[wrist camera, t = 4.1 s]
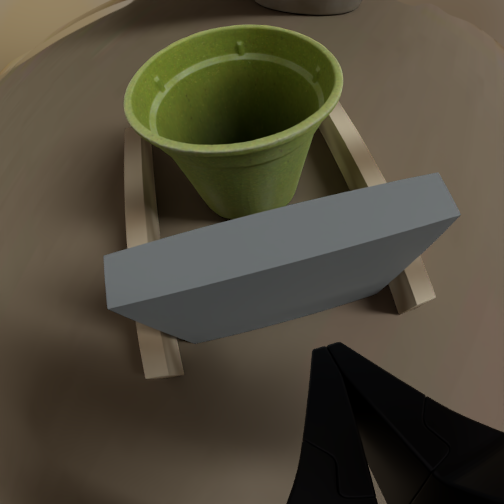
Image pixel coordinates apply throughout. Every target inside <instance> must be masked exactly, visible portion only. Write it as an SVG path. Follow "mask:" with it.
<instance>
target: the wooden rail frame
mask: <svg viewBox="0 0 504 504" xmlns="http://www.w3.org/2000/svg"><path fill="white" fill-rule="evenodd" d="M318 128H319V130H320V132H321V133H322V135H323V137H324V139H325V141H326V143H327V145H328V147H329V149H330V151H331V153H332V155H333V157H334V159H335V161H336V163H337V165H338V167H339V169H340V171H341V173H342V175H343V177H344V179H345V181H346V183H347V185H348V188H349V190H350V191H352V190H357V189H361V188H366V187H370V186H375V185H380V184H384V183H386V181H385V179H384V177H383V175H382V173H381V171H380V170H379V168H378V166H377V164H376V162H375V160H374V159H373V157H372V155H371V153H370V152H369V150H368V148H367V146H366V145H365V143H364V141H363V140H362V138H361V136H360V135H359V133H358V131H357V130H356V128H355V126H354V125H353V123H352V121H351V120H350V118H349V117H348V115H347V114H346V112H345V110H344V109H343V107H342V106H341V104H340V103H339V101H338V103H337V105H336V106H335V108H334V109H333V110H332V112H331V113H330V114H329V115H328V116H327V117H326V119H325V120H323V121H322V122H321V124H320V126H319V127H318ZM124 194H125V220H126V237H127V249H128V248H131V247H135V246H138V245H142V244H145V243H149V242H152V241H156V240H159V239H161V237H160V229H159V221H158V212H157V202H156V192H155V181H154V169H153V155H152V145H151V144H150V143H149V142H147V141H146V140H144V139H143V138H142V137H140V136H139V135H138V134H137V133H136V132H135V131H134V129H133V128H132V127H129V128H126V129H125V139H124ZM388 285H389V287H390V290H391V293H392V296H393V299H394V302H395V305H396V308H397V311H398V314H399V315H400V314H403V313H405V312H408V311H410V310H413V309H415V308H417V307H419V306H421V305H423V304H425V303H427V302H429V301H430V300H432V299H434V298H436V296H435V293H434V290H433V287H432V285H431V282H430V279H429V277H428V274H427V271H426V269H425V266H424V264H423V261H422V259H421V256H419V257H418V258H416V259H415V260H414V261H413V262H412V263H411V264H410V265H409V266H408V267H407V268H406V269H404V270H403V271H402V272H401V273H400V274H399V275H398V276H397V277H395V278H394V279H393V280H392V281H391V282H390V283H389V284H388ZM136 328H137V335H138V341H139V347H140V352H141V358H142V363H143V369H144V374H145V379H164V378H170V377H176V376H182V375H184V371H183V366H182V361H181V357H180V352H179V347H178V342H177V337H175V336H172V335H170V334H167V333H164V332H162V331H159V330H157V329H154V328H151V327H149V326H147V325H144V324H142V323H139V322H137V321H136Z"/></svg>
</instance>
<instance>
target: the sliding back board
mask: <svg viewBox="0 0 504 504" xmlns="http://www.w3.org/2000/svg"><path fill="white" fill-rule="evenodd" d="M460 215H461V214H460V212H459V210H458V208H457V206H456V204H455V202H454V200H453V198H452V196H451V195H450V193H449V191H448V189H447V187H446V185H445V184H444V182H443V180H442V178H441V176H440V175H439V173H433V174H428V175H423V176H418V177H413V178H408V179H403V180H398V181H394V182H389V183H384V184H380V185H375V186H370V187H366V188H361V189H357V190H352V191H348V192H343V193H339V194H335V195H330V196H326V197H322V198H317V199H313V200H309V201H305V202H301V203H296V204H292V205H288V206H284V207H280V208H276V209H272V210H268V211H264V212H260V213H256V214H252V215H248V216H244V217H240V218H237V219H233V220H229V221H225V222H221V223H217V224H214V225H210V226H206V227H203V228H199V229H195V230H192V231H188V232H184V233H181V234H177V235H173V236H170V237H166V238H163V239H159V240H156V241H152V242H149V243H145V244H142V245H138V246H135V247H131V248H128V249H125V250H121V251H118V252H115V253H111V254H108V255H105V256H104V273H105V286H106V298H107V308H108V309H109V310H111V311H113V312H115V313H118V314H120V315H122V316H125V317H127V318H130V319H132V320H134V321H137V322H139V323H142V324H144V325H147V326H149V327H151V328H154V329H157V330H159V331H162V332H164V333H167V334H170V335H172V336H175V337H177V338H180V339H183V340H186V341H188V342H191V343H194V344H196V343H201V342H205V341H210V340H214V339H218V338H223V337H227V336H231V335H235V334H239V333H243V332H247V331H251V330H255V329H259V328H263V327H267V326H271V325H275V324H278V323H282V322H286V321H289V320H293V319H296V318H300V317H303V316H307V315H310V314H314V313H317V312H321V311H324V310H327V309H331V308H334V307H337V306H340V305H344V304H347V303H350V302H353V301H356V300H359V299H362V298H365V297H368V296H371V295H374V294H377V293H378V292H379V291H380V290H382V289H383V288H384V287H385V286H386V285H387V284H389V283H390V282H391V281H392V280H393V279H394V278H395V277H397V276H398V275H399V274H400V273H401V272H402V271H403V270H404V269H406V268H407V267H408V266H409V265H410V264H411V263H412V262H413V261H414V260H415V259H416V258H418V257H419V256H420V255H421V254H422V253H423V252H424V251H425V250H426V249H427V248H428V247H429V246H430V245H431V244H432V243H433V242H434V241H435V240H436V239H437V238H438V237H439V236H440V235H441V234H443V233H444V232H445V231H446V230H447V229H448V227H449V226H450V225H451V224H452V223H453V222H454V221H455V220H456V219H457V218H458V217H459V216H460Z"/></svg>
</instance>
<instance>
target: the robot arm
mask: <svg viewBox="0 0 504 504" xmlns="http://www.w3.org/2000/svg"><path fill="white" fill-rule="evenodd" d="M368 465H369V467H370V469H371V471H372V473H373V475H374V477H375V479H376V482H377V484H378V486H379V488H380V490H381V492H382V494H383V496H384V498H385V500H386V502H387V504H504V432H501V431H499V430H496V429H494V428H491V427H489V426H486V425H484V424H481V423H479V422H477V421H474V420H472V419H470V418H467V417H465V416H463V415H461V414H459V413H456V412H454V411H452V410H450V409H448V408H447V407H445V406H443V405H441V404H439V403H438V402H436V401H434V400H433V399H431V398H429V397H426V398H425V395H424V394H423V393H421V392H419V391H418V390H416V389H414V388H413V387H411V386H409V385H408V384H406V383H405V382H403V381H401V380H400V379H398V378H397V377H395V376H393V375H392V374H390V373H389V372H387V371H385V370H384V369H382V368H381V367H379V366H377V365H376V364H374V363H373V362H371V361H369V360H368V359H366V358H365V357H363V356H362V355H360V354H358V353H357V352H355V351H354V350H352V349H351V348H349V347H347V346H346V345H344V344H343V343H341V342H337V343H333V344H330V345H328V346H327V347H325V346H323V347H320V348H316V349H313V351H312V359H311V370H310V381H309V391H308V400H307V409H306V417H305V426H304V433H303V442H302V447H301V454H300V459H299V465H298V470H297V473H296V476H295V480H294V483H293V487H292V490H291V492H290V495H289V498H288V501H287V503H286V504H378V503H377V499H376V494H375V490H374V486H373V482H372V478H371V475H370V471H369V467H368Z"/></svg>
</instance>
